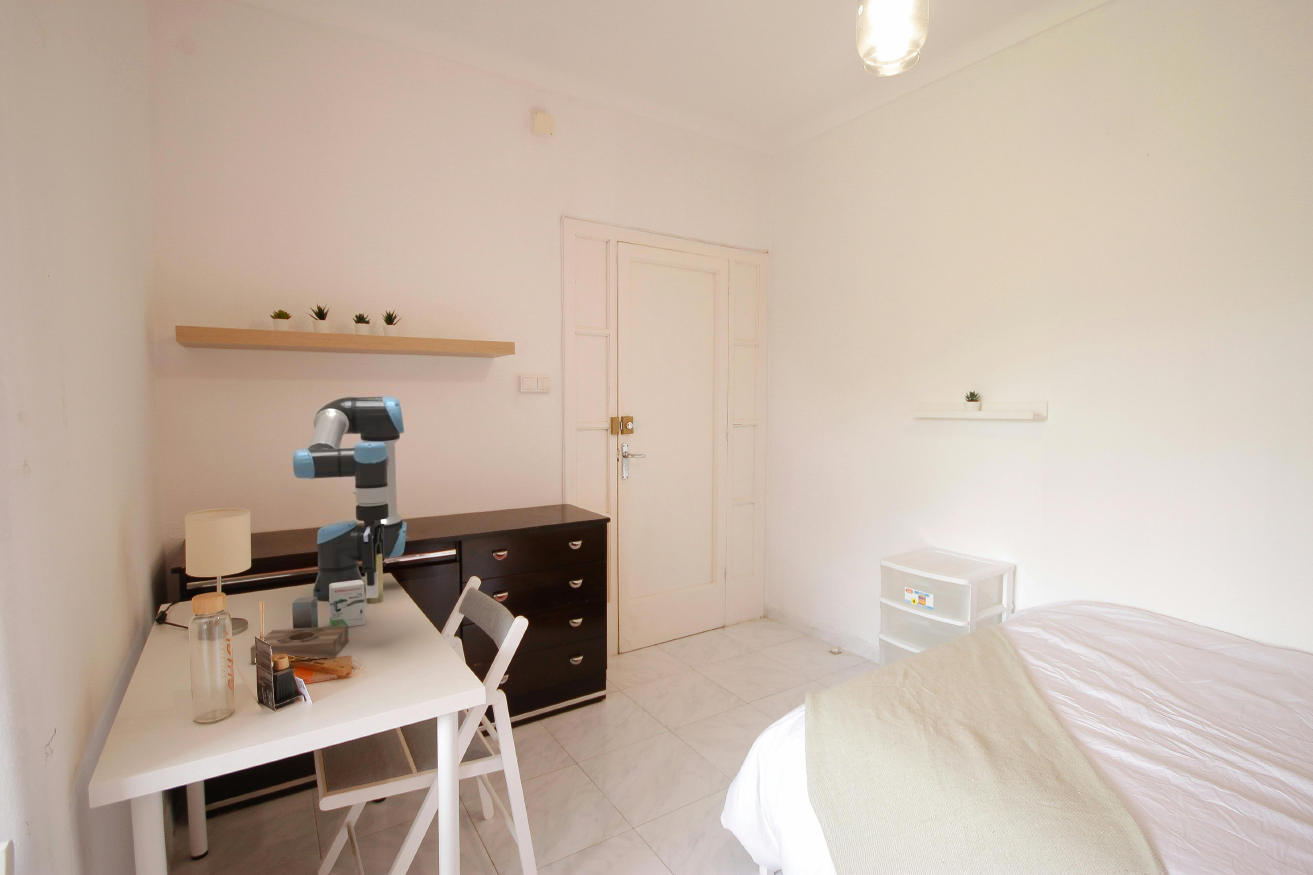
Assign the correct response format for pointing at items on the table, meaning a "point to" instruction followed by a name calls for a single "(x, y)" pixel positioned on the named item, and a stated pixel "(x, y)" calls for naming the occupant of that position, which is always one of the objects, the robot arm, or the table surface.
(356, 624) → the ink box
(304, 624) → the square bit
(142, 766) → the table surface
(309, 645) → the bore block
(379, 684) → the table surface
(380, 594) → the cylinder
